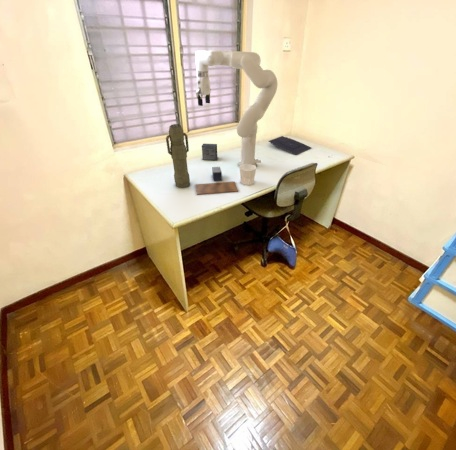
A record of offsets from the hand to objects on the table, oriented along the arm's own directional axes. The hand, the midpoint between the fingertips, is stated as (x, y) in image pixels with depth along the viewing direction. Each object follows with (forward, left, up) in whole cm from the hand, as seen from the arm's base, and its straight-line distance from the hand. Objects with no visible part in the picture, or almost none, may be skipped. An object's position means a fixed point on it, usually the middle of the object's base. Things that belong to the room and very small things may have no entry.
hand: (204, 104), depth 167 cm
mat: (-1, +49, -37) cm, 62 cm away
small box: (-2, +1, -38) cm, 38 cm away
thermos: (+19, +41, -37) cm, 59 cm away
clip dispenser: (-3, +35, -37) cm, 52 cm away
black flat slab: (-70, -14, -37) cm, 80 cm away
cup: (-21, +44, -37) cm, 62 cm away
